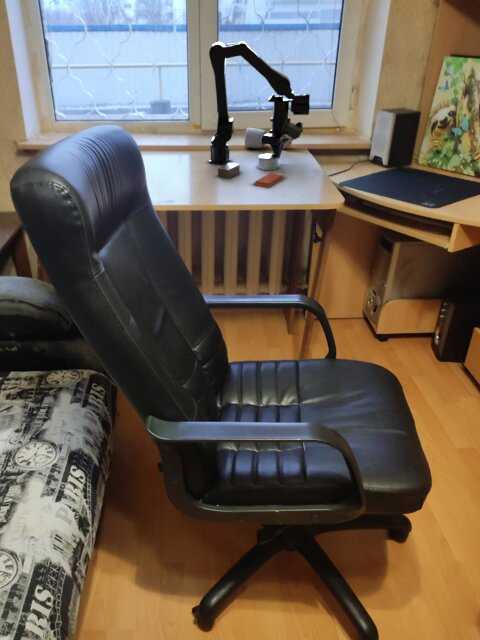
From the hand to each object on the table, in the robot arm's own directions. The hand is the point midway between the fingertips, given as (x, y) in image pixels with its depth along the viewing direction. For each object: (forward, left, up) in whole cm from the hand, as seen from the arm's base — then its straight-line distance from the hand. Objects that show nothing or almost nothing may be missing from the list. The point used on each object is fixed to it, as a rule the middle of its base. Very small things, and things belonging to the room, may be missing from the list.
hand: (277, 159), depth 211 cm
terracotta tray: (+8, -23, -1) cm, 24 cm away
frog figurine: (-6, +20, -1) cm, 21 cm away
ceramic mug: (-18, +16, -1) cm, 24 cm away
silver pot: (0, -8, -1) cm, 8 cm away
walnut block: (-8, -23, -1) cm, 24 cm away
